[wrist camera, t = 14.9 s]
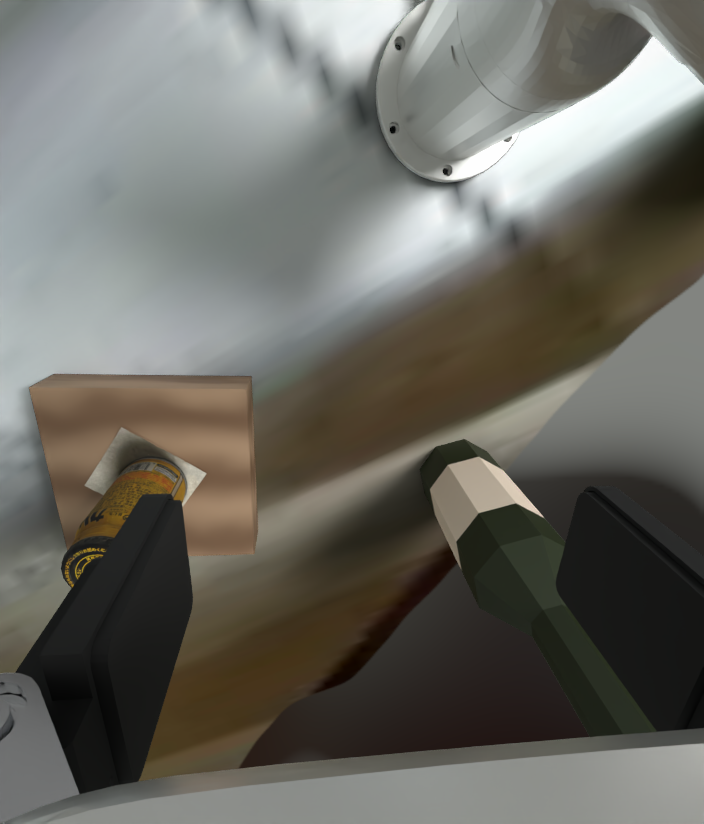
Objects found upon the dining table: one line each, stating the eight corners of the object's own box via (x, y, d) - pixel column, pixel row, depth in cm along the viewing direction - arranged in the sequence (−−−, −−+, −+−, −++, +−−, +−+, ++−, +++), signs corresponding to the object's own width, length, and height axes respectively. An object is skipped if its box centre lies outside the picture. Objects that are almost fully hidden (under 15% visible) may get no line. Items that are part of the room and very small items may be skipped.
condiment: (168, 526, 43) (121, 625, 32) (85, 484, 41) (2, 576, 29) (207, 472, 41) (171, 557, 30) (122, 425, 39) (50, 499, 28)
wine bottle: (427, 435, 47) (607, 719, 19) (500, 442, 48) (768, 719, 20) (412, 501, 50) (548, 832, 22) (480, 507, 51) (692, 827, 23)
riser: (53, 374, 40) (28, 387, 37) (251, 376, 42) (246, 389, 39) (88, 534, 47) (69, 559, 43) (258, 530, 49) (254, 553, 45)
